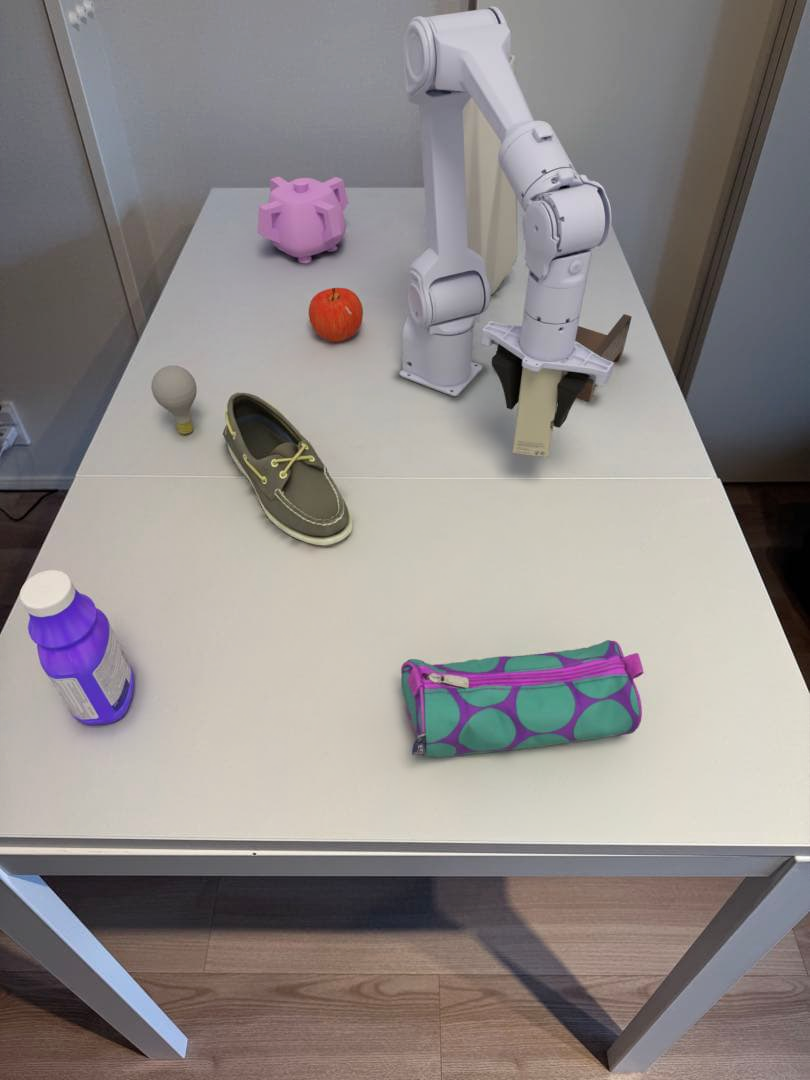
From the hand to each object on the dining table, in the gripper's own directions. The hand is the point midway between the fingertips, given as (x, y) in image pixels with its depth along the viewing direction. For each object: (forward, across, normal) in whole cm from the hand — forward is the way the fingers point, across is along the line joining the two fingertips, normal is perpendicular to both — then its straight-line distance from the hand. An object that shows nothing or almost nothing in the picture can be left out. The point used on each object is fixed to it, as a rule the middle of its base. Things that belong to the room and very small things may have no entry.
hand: (535, 413), depth 88 cm
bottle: (+10, -21, -50) cm, 55 cm away
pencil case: (+10, +14, -31) cm, 36 cm away
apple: (+11, -38, +13) cm, 42 cm away
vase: (+11, -27, +37) cm, 47 cm away
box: (+5, 0, 0) cm, 5 cm away
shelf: (+10, -6, +24) cm, 27 cm away
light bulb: (+11, -42, -16) cm, 46 cm away
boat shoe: (+10, -24, -17) cm, 31 cm away
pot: (+11, -58, +32) cm, 67 cm away
